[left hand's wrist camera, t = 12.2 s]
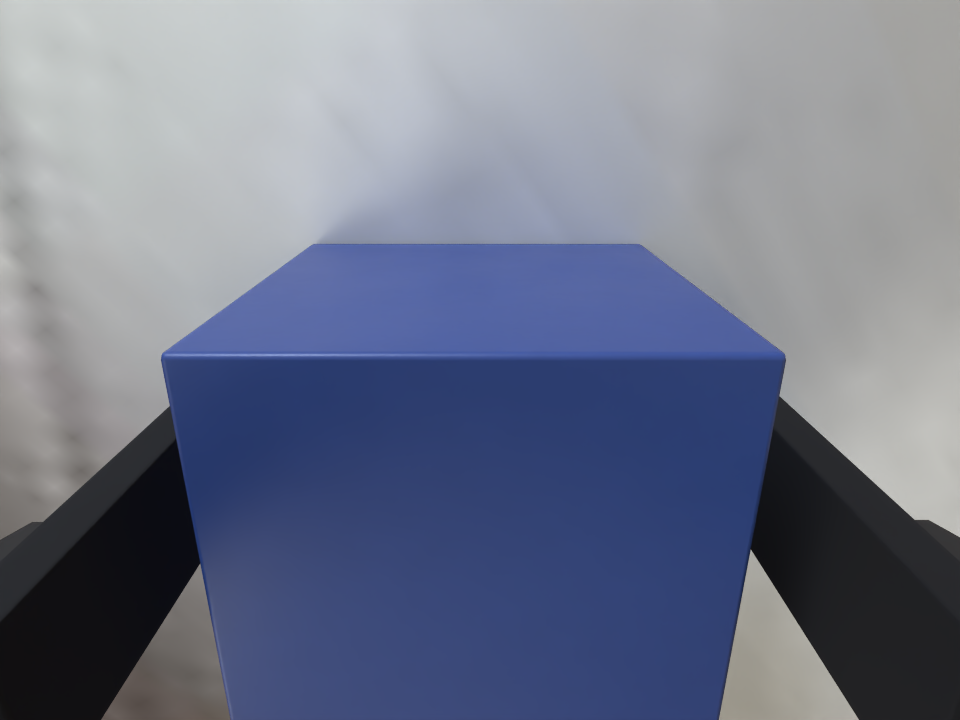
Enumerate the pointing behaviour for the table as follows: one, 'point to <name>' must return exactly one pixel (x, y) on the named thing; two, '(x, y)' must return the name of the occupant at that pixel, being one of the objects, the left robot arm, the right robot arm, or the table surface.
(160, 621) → the left robot arm
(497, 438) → the cube
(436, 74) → the table surface
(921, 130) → the table surface
